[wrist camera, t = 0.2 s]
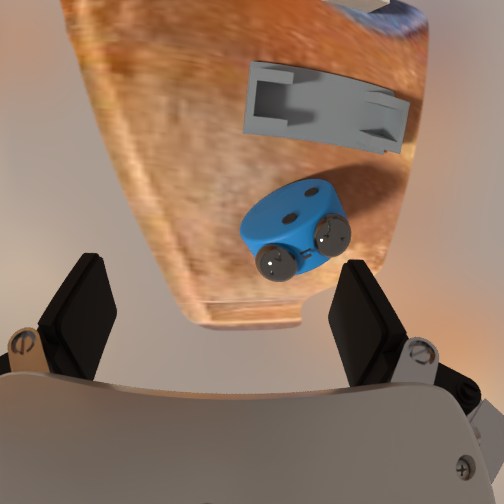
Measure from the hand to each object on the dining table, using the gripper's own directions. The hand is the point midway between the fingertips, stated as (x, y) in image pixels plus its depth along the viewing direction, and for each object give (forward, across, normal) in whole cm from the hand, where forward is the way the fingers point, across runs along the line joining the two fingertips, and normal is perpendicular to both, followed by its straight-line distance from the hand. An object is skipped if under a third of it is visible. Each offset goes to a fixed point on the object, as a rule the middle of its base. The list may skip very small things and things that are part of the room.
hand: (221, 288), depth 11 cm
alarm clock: (+31, -8, +9) cm, 33 cm away
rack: (+31, -12, -6) cm, 34 cm away
